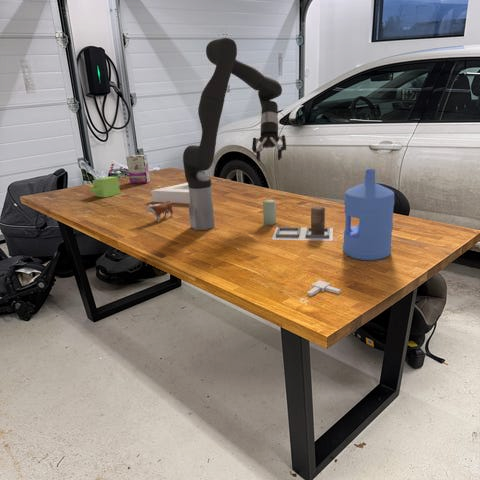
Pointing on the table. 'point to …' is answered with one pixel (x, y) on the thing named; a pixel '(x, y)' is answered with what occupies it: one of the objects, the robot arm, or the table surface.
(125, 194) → the table surface
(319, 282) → the corner connector
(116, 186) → the gearbox
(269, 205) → the sage column
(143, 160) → the candy bar box
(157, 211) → the bull figurine
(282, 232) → the base plate
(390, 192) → the water jug
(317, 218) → the walnut column
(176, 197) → the triangle block
